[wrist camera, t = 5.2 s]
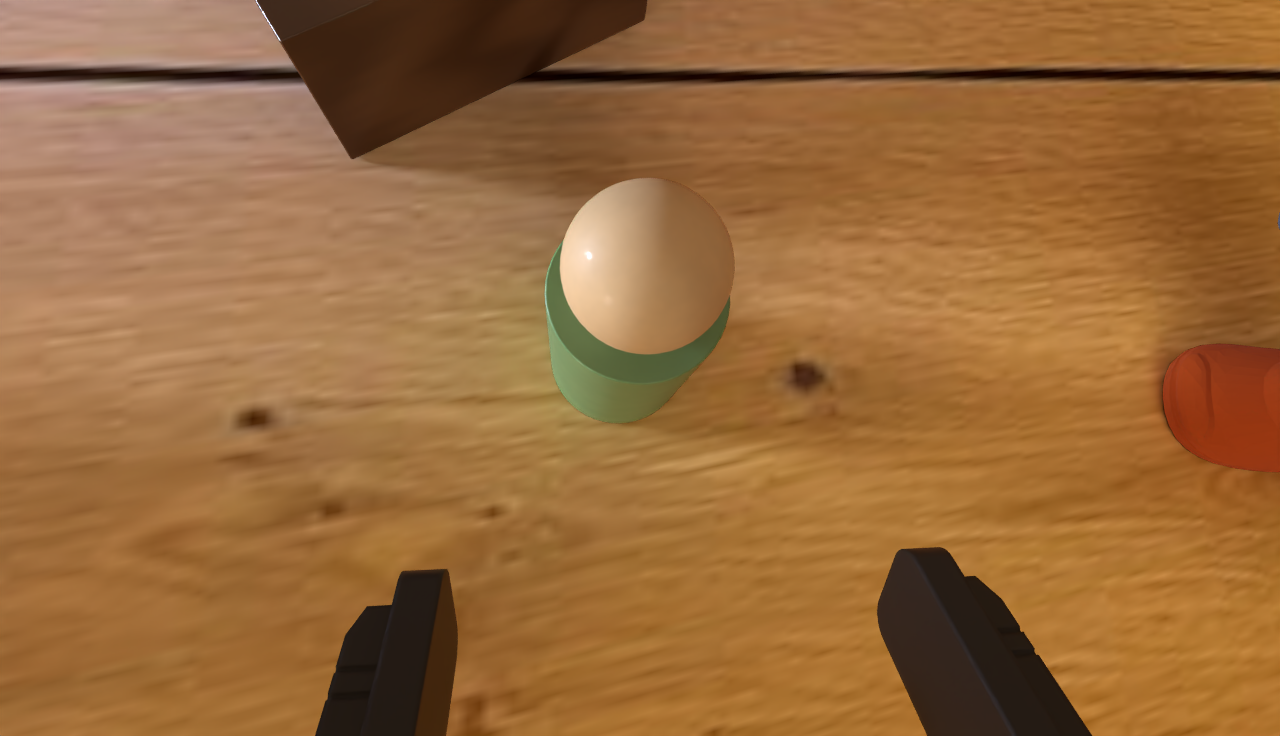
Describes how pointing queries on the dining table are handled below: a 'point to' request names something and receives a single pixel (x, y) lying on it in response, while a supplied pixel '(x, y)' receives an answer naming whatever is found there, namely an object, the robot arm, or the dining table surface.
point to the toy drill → (1227, 404)
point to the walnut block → (428, 53)
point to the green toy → (636, 297)
